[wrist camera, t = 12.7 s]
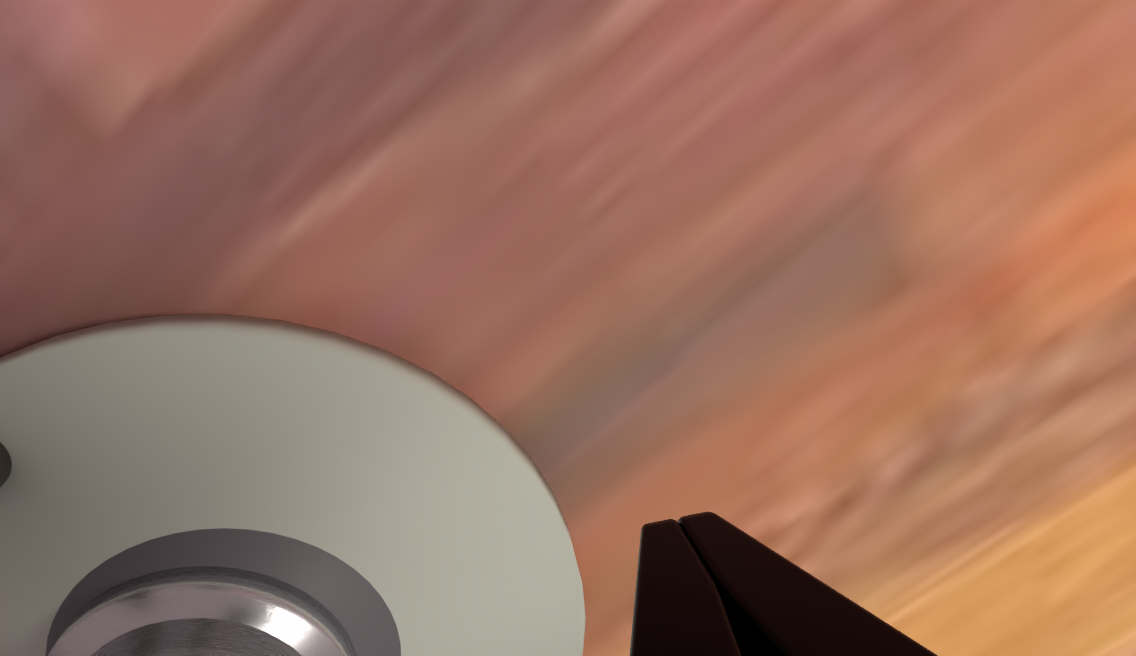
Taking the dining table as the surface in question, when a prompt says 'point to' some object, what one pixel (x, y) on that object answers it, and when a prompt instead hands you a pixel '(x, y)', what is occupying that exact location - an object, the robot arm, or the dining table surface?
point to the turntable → (275, 486)
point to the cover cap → (204, 618)
